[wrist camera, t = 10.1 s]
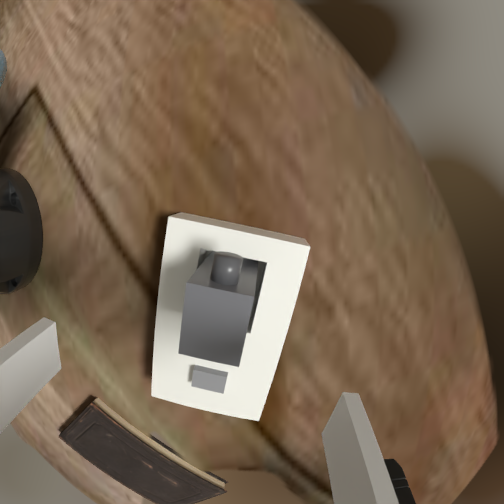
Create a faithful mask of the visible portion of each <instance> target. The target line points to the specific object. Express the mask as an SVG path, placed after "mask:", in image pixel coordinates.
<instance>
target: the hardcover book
mask: <svg viewBox="0 0 504 504" xmlns="http://www.w3.org/2000/svg"><path fill="white" fill-rule="evenodd" d="M59 438H60V439H62V440H63V441H64V442H65V443H66V444H67V445H69V446H70V447H71V448H72V449H74V450H75V451H76V452H77V453H79V454H80V455H81V456H83V457H84V458H85V459H86V460H88V461H89V462H90V463H92V464H93V465H95V466H96V467H97V468H99V469H100V470H102V471H103V472H104V473H106V474H107V475H109V476H110V477H112V478H113V479H115V480H116V481H118V482H120V483H121V484H123V485H124V486H126V487H127V488H129V489H131V490H132V491H134V492H136V493H137V494H139V495H141V496H143V497H144V498H146V499H148V500H150V501H152V502H154V503H155V504H194V503H197V502H200V501H203V500H206V499H209V498H212V497H215V496H218V495H220V494H223V493H226V492H227V491H226V490H224V486H225V484H226V483H228V481H226V480H224V479H222V478H220V477H219V476H217V475H215V474H213V473H211V472H210V471H208V472H204V471H200V470H198V469H197V468H195V467H193V466H191V465H190V464H188V463H187V462H185V461H184V460H183V459H182V458H181V456H180V455H179V454H178V452H176V451H175V450H173V449H171V448H170V447H168V446H167V445H165V444H164V443H162V442H161V441H160V440H158V439H157V438H155V437H154V436H152V435H151V436H150V438H148V437H147V436H145V435H144V434H143V433H141V432H140V431H139V430H137V429H136V428H135V427H133V426H132V425H131V424H129V423H128V422H127V421H125V420H124V419H123V418H122V417H120V416H119V415H118V414H117V413H115V412H114V411H113V410H112V409H110V408H109V407H108V406H107V405H106V404H104V403H103V402H102V401H101V400H100V399H99V398H96V399H95V400H94V401H93V402H92V403H91V404H90V405H89V406H88V407H87V408H86V409H85V410H84V411H83V412H82V413H81V414H80V415H79V416H78V417H77V418H76V419H75V420H74V421H73V422H72V423H71V424H70V425H69V426H68V427H67V428H66V429H65V430H64V431H62V432H61V433H60V435H59Z"/></svg>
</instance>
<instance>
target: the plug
mask: <svg viewBox="0 0 504 504" xmlns="http://www.w3.org/2000/svg"><path fill="white" fill-rule="evenodd" d="M257 270H258V260H253V259H248V258H244V257H242V256H240V255H238V254H235V253H231V252H224V251H218V252H216V251H212V252H211V253H210V254H209V255H208V256H207V258H206V259H205V260H204V261H203V263H202V264H201V265H200V266H199V267H198V269H197V270H196V271H195V272H194V274H193V275H192V276H191V277H190V279H189V280H188V281H187V282H186V290H185V297H184V306H183V314H182V323H181V332H180V341H179V351H178V353H179V354H183V355H187V356H191V357H195V358H199V359H203V360H208V361H212V362H217V363H221V364H226V365H231V366H236V367H239V365H240V361H241V356H242V352H243V347H244V343H245V338H246V333H247V329H248V324H249V320H250V315H251V311H252V306H253V301H254V297H255V288H256V279H257Z"/></svg>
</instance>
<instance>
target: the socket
mask: <svg viewBox="0 0 504 504" xmlns="http://www.w3.org/2000/svg"><path fill="white" fill-rule="evenodd" d="M309 250H310V245H309V244H308V243H307V241H306V240H305V238H300V237H296V236H291V235H287V234H282V233H278V232H273V231H269V230H264V229H259V228H255V227H250V226H246V225H241V224H236V223H231V222H227V221H222V220H217V219H212V218H207V217H203V216H198V215H193V214H188V213H183V212H180V213H177V214H174V215H171V216H169V217H168V224H167V230H166V237H165V244H164V251H163V258H162V266H161V274H160V283H159V292H158V302H157V312H156V323H155V336H154V351H153V369H152V395H151V396H154V397H157V398H160V399H164V400H167V401H171V402H174V403H178V404H182V405H185V406H189V407H193V408H197V409H201V410H206V411H210V412H214V413H219V414H224V415H229V416H234V417H239V418H244V419H250V420H256V421H259V419H260V416H261V413H262V410H263V407H264V404H265V401H266V398H267V395H268V392H269V389H270V386H271V383H272V380H273V376H274V373H275V370H276V367H277V364H278V361H279V357H280V354H281V351H282V347H283V344H284V341H285V337H286V334H287V331H288V327H289V324H290V320H291V317H292V313H293V310H294V306H295V303H296V299H297V296H298V292H299V288H300V285H301V281H302V277H303V273H304V270H305V266H306V262H307V258H308V254H309ZM212 251H216V252H218V251H224V252H231V253H235V254H238V255H240V256H242V257H244V258H248V259H253V260H258V270H257V279H256V288H255V297H254V301H253V306H252V311H251V315H250V320H249V324H248V329H247V333H246V338H245V343H244V347H243V352H242V356H241V361H240V365H239V367H236V366H231V365H226V364H221V363H217V362H212V361H208V360H203V359H199V358H195V357H191V356H187V355H183V354H179V353H178V351H179V341H180V332H181V323H182V314H183V306H184V297H185V290H186V282H187V281H188V280H189V279H190V277H191V276H192V275H193V274H194V272H195V271H196V270H197V269H198V267H199V266H200V265H201V264H202V263H203V261H204V260H205V259H206V258H207V256H208V255H209V254H210V253H211V252H212Z"/></svg>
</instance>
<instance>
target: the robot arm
mask: <svg viewBox="0 0 504 504" xmlns="http://www.w3.org/2000/svg"><path fill="white" fill-rule="evenodd" d="M6 71H7V61H6V58H5V55H4V54H3V52H2V51H1V49H0V87H1V85H2V83H3V81H4V78H5V76H6ZM42 242H43V236H42V223H41V216H40V211H39V207H38V204H37V201H36V198H35V195H34V193H33V191H32V189H31V187H30V185H29V184H28V182H27V181H26V179H25V178H24V177H23V176H22V175H21V174H20V173H18V172H17V171H15V170H12V169H7V168H5V169H0V294H8V293H12V292H15V291H17V290H19V289H21V288H23V287H25V286H26V285H28V284H29V283H30V282H31V281H32V279H33V278H34V276H35V274H36V272H37V270H38V267H39V264H40V260H41V254H42ZM60 369H61V363H60V356H59V349H58V341H57V332H56V322H54V321H52V320H50V319H47V318H45V317H43V318H42V319H41V320H39V321H38V322H36V323H35V324H33V325H32V326H31V327H29V328H28V329H26V330H25V331H24V332H22V333H21V334H19V335H18V336H17V337H15V338H14V339H13V340H11V341H10V342H9V343H7V344H6V345H4V346H3V347H2V348H0V434H1V433H2V431H3V430H4V429H5V428H6V427H7V426H8V425H9V424H10V422H11V421H12V420H13V419H14V418H15V417H16V416H17V415H18V414H19V412H20V411H21V410H22V409H23V408H24V407H25V406H26V405H27V404H28V403H29V402H30V401H31V400H32V398H33V397H34V396H35V395H36V394H37V393H38V392H39V391H40V390H41V389H42V388H43V387H44V386H45V385H46V384H47V383H48V382H49V381H50V380H51V379H52V377H53V376H54V375H55V374H56V373H57V372H58V371H59V370H60ZM322 439H323V444H324V449H325V455H326V460H327V465H328V471H329V476H330V482H331V488H332V493H333V499H334V504H416V503H415V500H414V498H413V495H412V492H411V490H410V488H409V487H408V486H409V485H408V482H407V480H406V479H405V478H406V477H405V474H404V472H403V469H402V467H401V466H400V465H399V464H398V463H397V462H396V461H395V460H394V459H383V457H382V454H381V451H380V448H379V446H378V443H377V440H376V438H375V435H374V432H373V430H372V427H371V424H370V422H369V419H368V417H367V414H366V412H365V409H364V406H363V404H362V401H361V399H360V396H359V394H358V393H346V392H343V393H342V395H341V397H340V399H339V401H338V403H337V405H336V407H335V409H334V411H333V413H332V415H331V417H330V419H329V421H328V423H327V425H326V426H325V428H324V430H323V432H322Z"/></svg>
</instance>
